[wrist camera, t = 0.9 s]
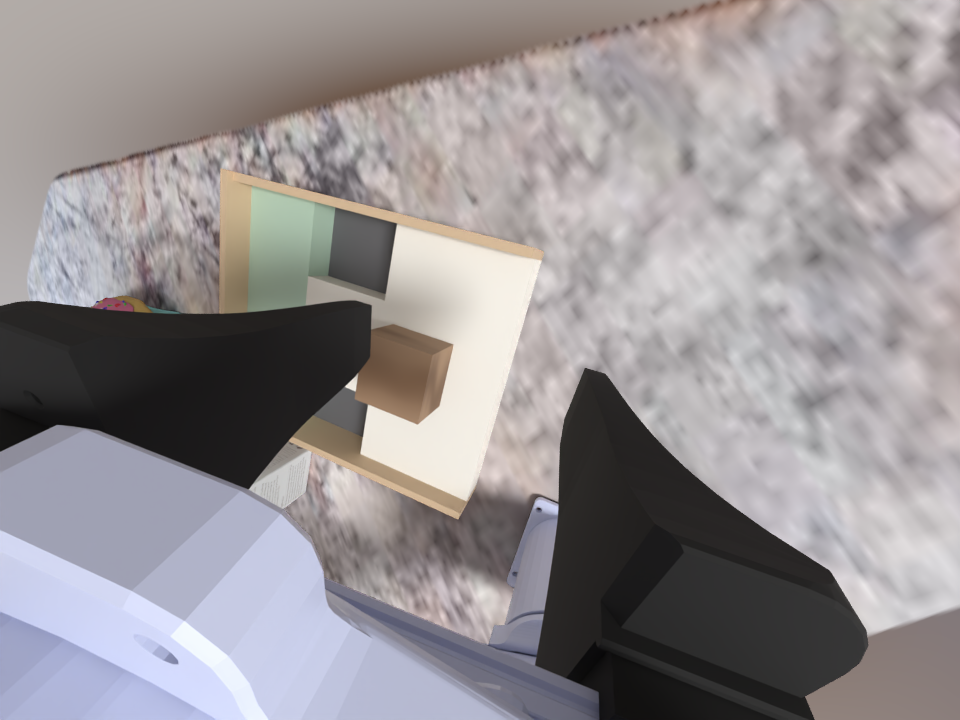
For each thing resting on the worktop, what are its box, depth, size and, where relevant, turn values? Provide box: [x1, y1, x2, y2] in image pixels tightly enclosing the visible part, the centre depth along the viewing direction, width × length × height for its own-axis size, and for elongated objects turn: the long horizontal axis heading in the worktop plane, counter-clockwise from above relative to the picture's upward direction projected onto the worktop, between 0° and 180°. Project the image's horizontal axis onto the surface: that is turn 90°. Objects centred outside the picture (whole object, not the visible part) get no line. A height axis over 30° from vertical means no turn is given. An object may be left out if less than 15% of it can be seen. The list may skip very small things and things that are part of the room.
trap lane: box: [219, 169, 544, 519], centre depth 28 cm, size 20×24×4 cm
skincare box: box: [249, 441, 312, 509], centre depth 31 cm, size 6×4×12 cm
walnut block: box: [355, 324, 454, 425], centre depth 25 cm, size 5×5×4 cm
